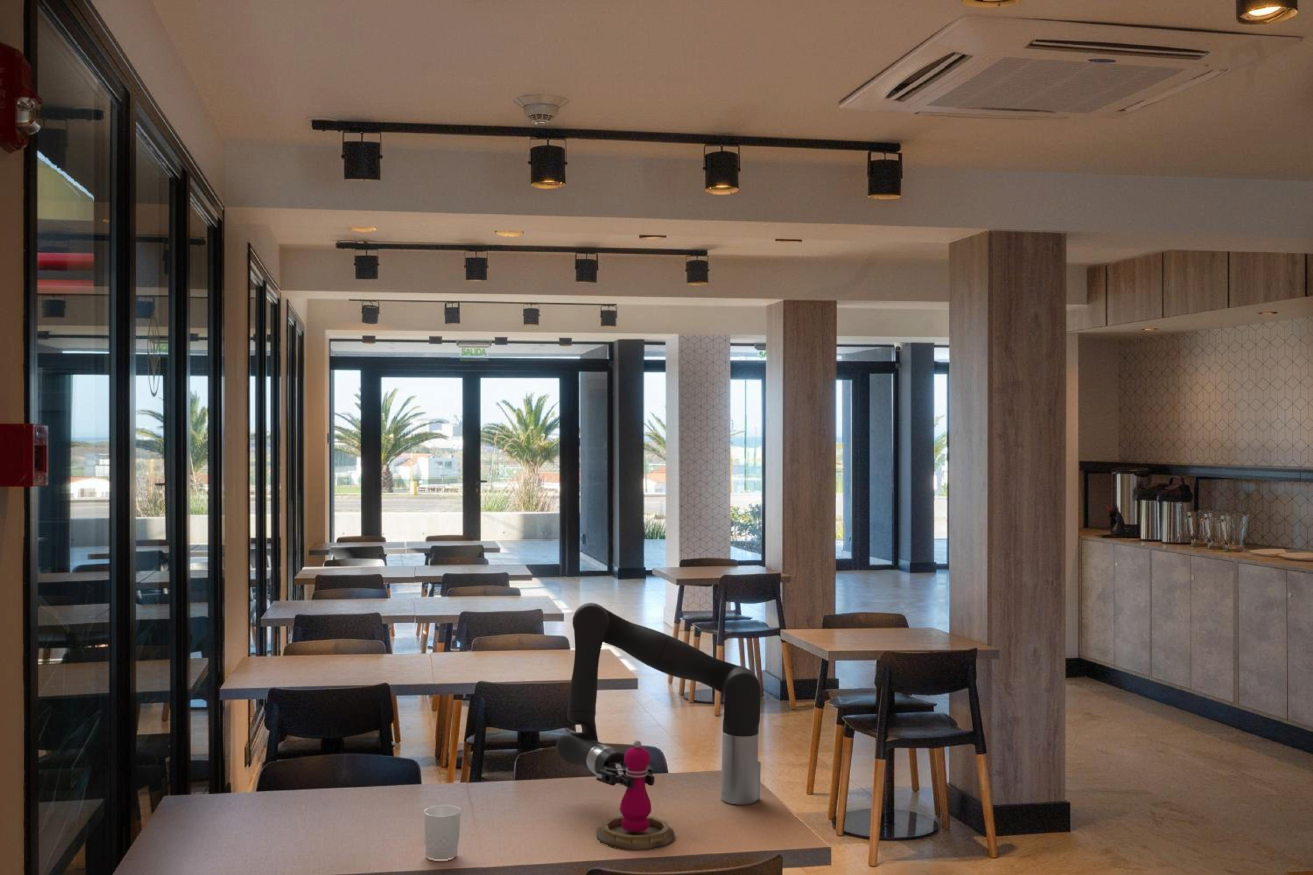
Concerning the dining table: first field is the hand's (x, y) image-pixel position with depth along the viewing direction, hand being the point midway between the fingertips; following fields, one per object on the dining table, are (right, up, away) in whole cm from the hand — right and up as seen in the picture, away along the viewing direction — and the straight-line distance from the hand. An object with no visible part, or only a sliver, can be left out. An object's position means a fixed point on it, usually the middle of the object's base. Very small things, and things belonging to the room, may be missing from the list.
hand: (642, 782), depth 268 cm
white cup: (-43, -12, -13) cm, 47 cm away
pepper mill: (-2, -11, +2) cm, 12 cm away
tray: (-2, -13, +2) cm, 13 cm away
